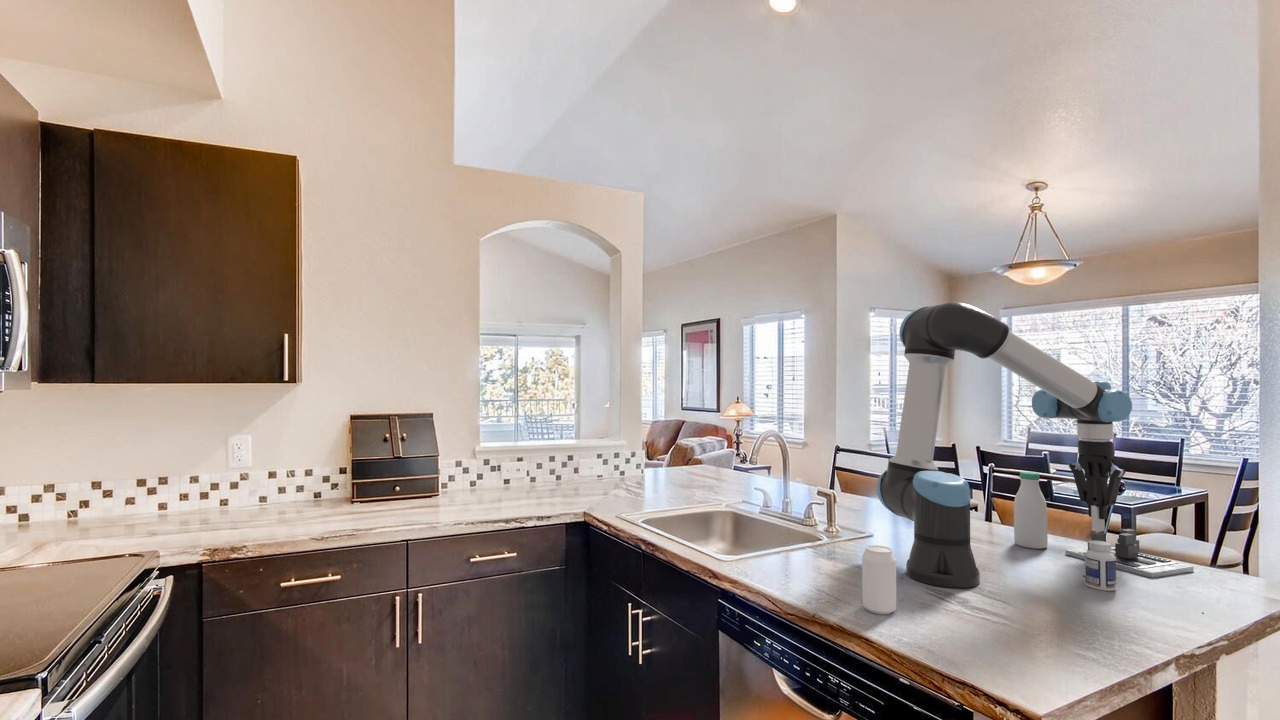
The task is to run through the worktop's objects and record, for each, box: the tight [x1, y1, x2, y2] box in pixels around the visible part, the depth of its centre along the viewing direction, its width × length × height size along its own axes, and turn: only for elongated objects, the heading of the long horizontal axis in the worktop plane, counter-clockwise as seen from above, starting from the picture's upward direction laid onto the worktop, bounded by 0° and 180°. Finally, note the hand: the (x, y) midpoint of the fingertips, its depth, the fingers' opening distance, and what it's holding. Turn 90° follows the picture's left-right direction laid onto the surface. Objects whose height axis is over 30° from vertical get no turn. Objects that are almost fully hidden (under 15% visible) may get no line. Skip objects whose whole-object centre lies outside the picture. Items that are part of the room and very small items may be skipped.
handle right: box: [1116, 528, 1141, 553], centre depth 157 cm, size 4×3×5 cm
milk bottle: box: [1013, 471, 1049, 550], centre depth 168 cm, size 8×8×20 cm
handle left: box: [1087, 532, 1107, 550], centre depth 154 cm, size 4×3×5 cm
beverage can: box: [861, 544, 897, 616], centre depth 120 cm, size 6×6×12 cm
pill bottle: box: [1084, 540, 1117, 592], centre depth 134 cm, size 5×5×10 cm
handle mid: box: [1114, 533, 1139, 559], centre depth 153 cm, size 4×3×5 cm
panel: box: [1065, 546, 1194, 579], centre depth 152 cm, size 15×20×2 cm
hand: (1098, 530), depth 159 cm, fingers closed
